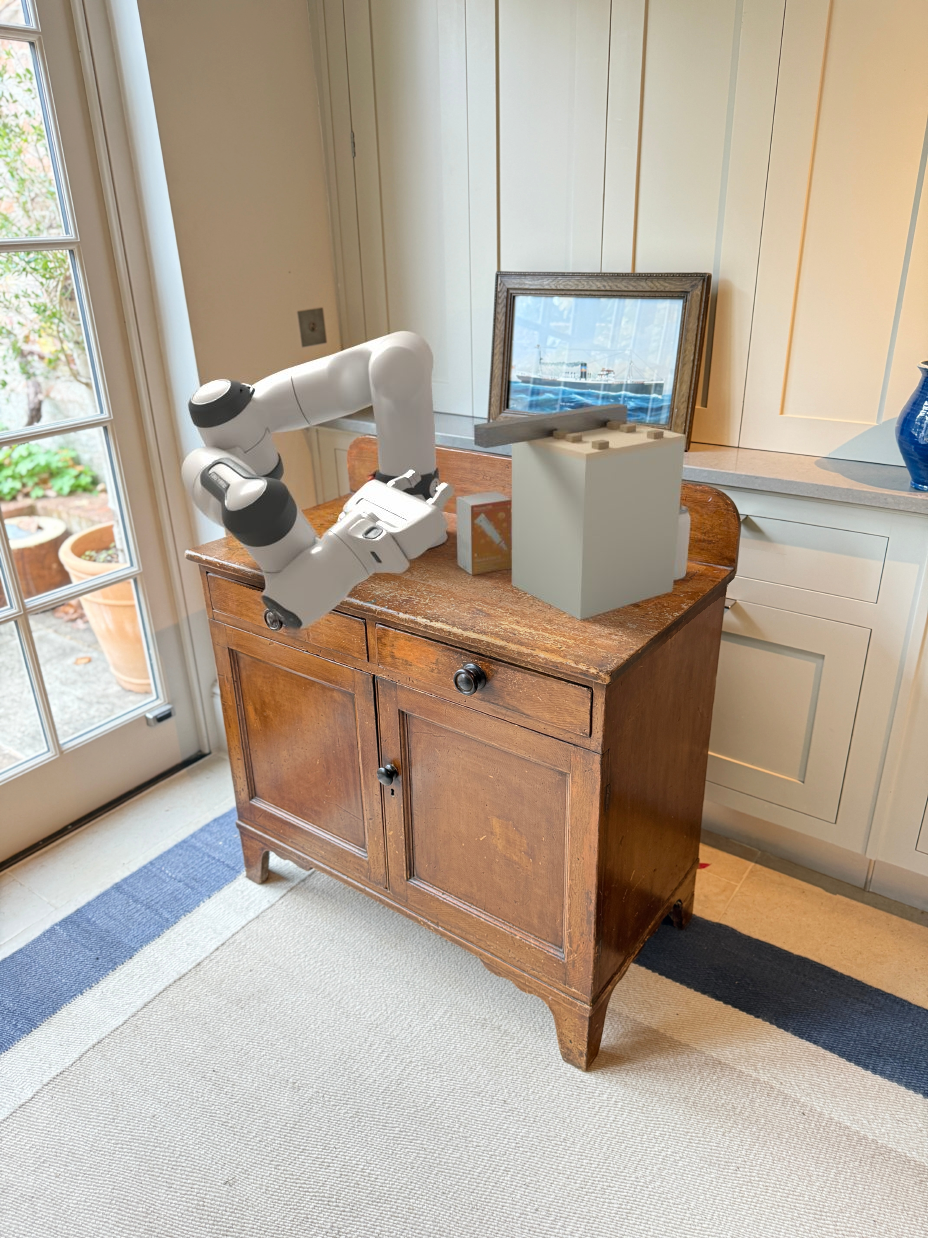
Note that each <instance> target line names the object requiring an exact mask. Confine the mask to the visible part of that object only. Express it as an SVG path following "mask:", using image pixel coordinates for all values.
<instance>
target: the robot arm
mask: <svg viewBox="0 0 928 1238" xmlns="http://www.w3.org/2000/svg"><path fill="white" fill-rule="evenodd" d="M433 369H434V355H433V351H432V348H431V347H430V345H429V343H428V341H426V340H425V338H423V337H422V336H420V335H419V334H417V333H415V332H412V331H408V330H407V331H406V330H400V331H396V332H392V333H390V334H387V335H384V336H380V337H378V338H375V339H372V340H369V341H366V342H363V343H360V344H358V345H355V346H353V347H349V348H346V349H344V350H342V351H341V350H340V351H338V352H336V353H333V354H330V355H327V356H323V357H320V358H318V359H314V360H311V361H307V362H305V363H302V364H299V365H295V366H292V367H288V368H286V369H283V370H280V371H278V372H276V373H273V374H271V375H268V376H266V377H264V378H263V379H261V380H259V381H257V382H255V383H254V384H252V385H251V384H249V383H245V382H244V383H241V382H239V381H237V380H232V379H224V378H222V379H216V380H212V381H210V382H209V381H208V383H205V384H203V385H202V386H200V387H199V388H198V389H196V390H194V392H193V393H192V394H191V397H190V399H189V400H188V403H187V405H188V411H189V416H190V418H191V421H192V423H193V425H194V426H195V427H196V428H197V431H198V433H199V435H200V438H201V439H202V441H203V443H204V445H205V446H201V447H198V448H196V449H194V450H192V451H191V452H190V453H189V454H188V455H187V456H186V458H185V459H184V461H183V463H182V466H181V471H180V472H181V480H182V483H183V485H184V488H185V490H186V492H187V494H188V496H189V497H190V499H191V501H192V502H193V504H194V505H195V507H197V509H198V510H199V511H200V512H201V513H202V514H203V516H205V517H206V518H207V519H208V520H210V521H211V522H213V523H214V524H216V525H218V526H220V527H221V528H224V529H226V530H227V531H228V532H229V533H230V534H231V535H232V536H233V537H234V538H235V539H236V540H237V541H238V542H239V543H240V545H241V546H242V548H244V549H245V550H246V552H247V553H248V554H249V556H250V557H251V558H252V560H253V561H254V562H255V564H257V566H258V567H259V569H261V571H262V575H263V578H264V582H265V588H264V590H263V591H262V593H261V601H262V603H263V605H265V607H266V608H267V610H268V611H269V612H270V613H271V614H272V616H274V617H276V619H278V620H279V621H280V622H281V623H283V624H285V625H286V626H288V627H290V628H292V629H296V630H302V629H304V628H307V627H308V626H309V627H310V626H311V625H313V624H314V623H316V622H318V621H319V620H321V619H322V618H323V617H325V616H326V615H328V614H329V613H330V612H331V611H332V610H334V609H335V608H336V607H337V606H338V605H339V604H340V603H341V602H343V601H344V600H345V599H347V597H348V595H349V594H350V593H351V591H352V590H353V588H355V586H356V585H358V584H359V583H362V582H365V580H368V578H370V577H371V576H372V575H373V574H382V573H383V574H384V573H387V574H389V573H390V574H403V573H404V572H405V571H406V570H407V569H408V568H409V567H410V564H411V563H410V561H409V560H415V559H416V558H418V557H420V556H421V555H422V554H423V553H425V552H426V551H427V550H428V549H431V548H434V547H437V546H439V545H442V544H444V543H445V542H446V541H447V540H448V534H447V532H446V530H447V529H448V525H449V523H448V521H447V519H446V517H445V516H444V513H443V511H444V509H445V506H446V504H447V503H448V500H449V499H450V498H451V497H452V496H454V495H455V492H456V491H455V489H454V487H453V486H452V484H450V483H447V482H445V481H444V482H442V483H441V484H440V470H439V468H438V467H437V452H436V451H437V449H436V446H437V445H436V429H435V428H436V425H435V415H434V401H433V383H432V374H433ZM371 406H372V410H373V416H374V418H373V419H374V423H375V429H376V442H377V443H376V444H377V445H376V447H377V458H378V459H377V460H378V469H377V470H375V471H373V472H372V473H370V474H368V475H367V477H369V478H368V479H367V481H368V482H366V483H364V484H363V485H362V486H361V487H360V488H359V489H358V490H356V492H355V493H354V494H353V495H352V496H351V497H350V498H349V499H348V500H347V501H346V502H345V504H344V505H343V507H342V512H341V513H340V514H339V515H338V517H337V518H338V519H337V522H336V523H334V524H333V525H332V526H331V527H330V528H328V529H327V530H326V531H325V532H324V534H323V535H322V537H321V538H320V536H319V535H318V533H317V532H316V531H315V529H314V528H313V526H312V524H311V523H310V522H309V520H308V519H307V518H306V516H305V514H303V512H302V510H301V508H299V506H298V505H297V503H296V501H295V499H294V498H293V496H292V494H291V492H290V490H289V489H288V487H287V485H286V484H285V483H284V482H283V481H281V480H282V478H283V476H284V473H285V469H284V464H283V460H282V456H281V454H280V453H279V452H278V450H277V448H276V446H275V443H274V440H273V437H272V436H271V435H272V434H276V433H284V432H285V433H286V432H291V431H296V430H301V429H302V430H303V429H306V428H309V427H313V426H316V425H319V424H322V423H326V422H329V421H332V420H333V421H334V420H336V419H339V418H343V417H347V416H349V415H353V414H354V413H357V412H358V411H361V410H363V409H367V408H368V407H371ZM367 477H366V478H367Z"/></svg>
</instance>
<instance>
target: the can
mask: <svg viewBox="0 0 928 1238" xmlns="http://www.w3.org/2000/svg"><path fill="white" fill-rule="evenodd" d="M689 511H690V509H689V507H687V506H684V505H683V504H682V505H681V504H680V508H679V520H678V532H677V544H676V556H675V568H674V580H673V582H676V581H680V580H682V579H683V578H684V577H685V576H687V575H686V574H687V565H688V556H689V554H688V553H689V543H690V532H691V522H692V521H691V515H690V513H689Z"/></svg>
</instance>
